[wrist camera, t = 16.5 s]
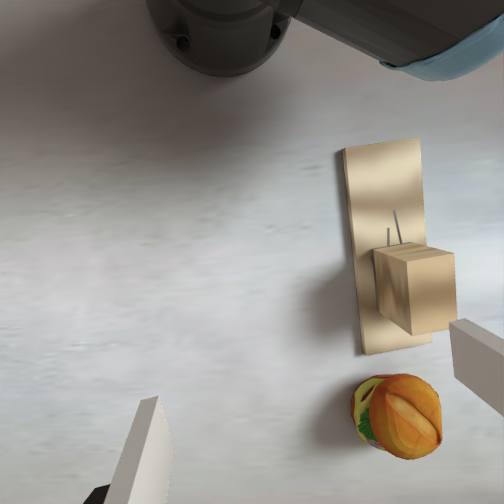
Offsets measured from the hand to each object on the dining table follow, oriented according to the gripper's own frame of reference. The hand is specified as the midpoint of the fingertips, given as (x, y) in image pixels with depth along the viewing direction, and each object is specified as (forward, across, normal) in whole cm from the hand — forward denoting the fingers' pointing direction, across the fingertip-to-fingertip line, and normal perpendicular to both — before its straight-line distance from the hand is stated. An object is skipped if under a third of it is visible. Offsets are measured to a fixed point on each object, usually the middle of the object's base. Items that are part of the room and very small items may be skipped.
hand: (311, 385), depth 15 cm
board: (+28, +17, -3) cm, 33 cm away
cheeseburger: (+28, +13, -23) cm, 38 cm away
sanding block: (+27, +16, -6) cm, 32 cm away
